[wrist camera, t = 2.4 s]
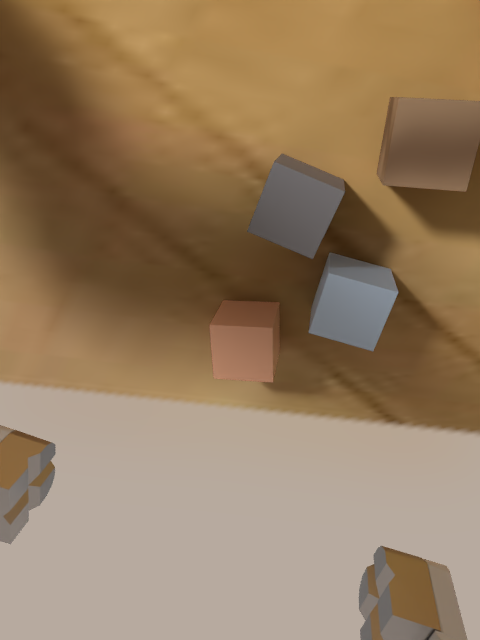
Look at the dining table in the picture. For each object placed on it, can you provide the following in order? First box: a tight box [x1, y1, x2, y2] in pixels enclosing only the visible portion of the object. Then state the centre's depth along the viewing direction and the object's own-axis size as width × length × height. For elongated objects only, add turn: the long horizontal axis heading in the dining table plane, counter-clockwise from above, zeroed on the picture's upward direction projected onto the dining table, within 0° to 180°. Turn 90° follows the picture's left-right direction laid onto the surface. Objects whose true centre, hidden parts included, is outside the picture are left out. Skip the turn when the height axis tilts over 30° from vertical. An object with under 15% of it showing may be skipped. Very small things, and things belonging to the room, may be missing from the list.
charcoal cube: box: [247, 154, 345, 259], centre depth 32 cm, size 5×5×5 cm
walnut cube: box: [377, 97, 480, 192], centre depth 29 cm, size 5×5×5 cm
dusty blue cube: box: [309, 252, 398, 351], centre depth 35 cm, size 5×5×5 cm
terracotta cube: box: [209, 300, 280, 383], centre depth 38 cm, size 5×5×5 cm
